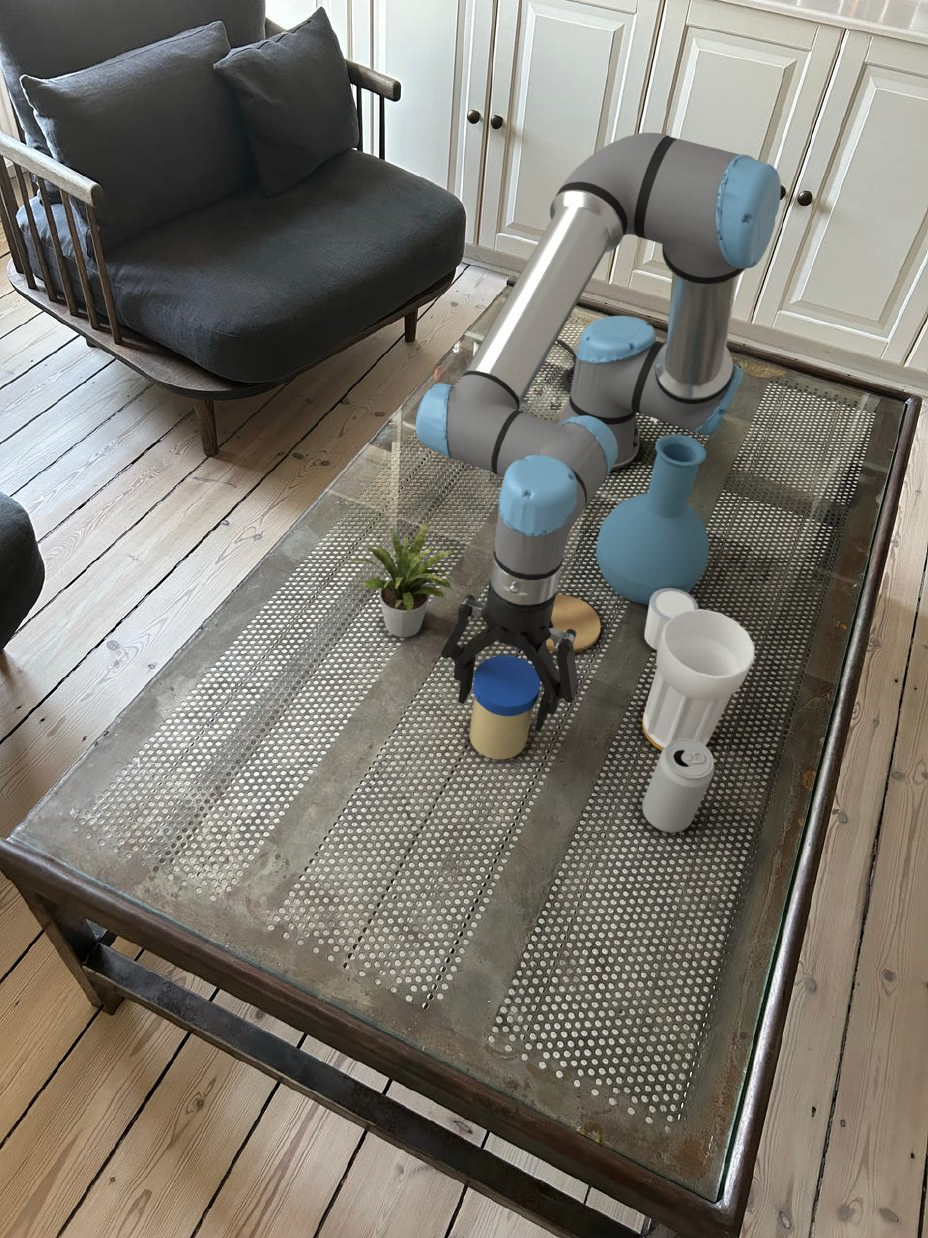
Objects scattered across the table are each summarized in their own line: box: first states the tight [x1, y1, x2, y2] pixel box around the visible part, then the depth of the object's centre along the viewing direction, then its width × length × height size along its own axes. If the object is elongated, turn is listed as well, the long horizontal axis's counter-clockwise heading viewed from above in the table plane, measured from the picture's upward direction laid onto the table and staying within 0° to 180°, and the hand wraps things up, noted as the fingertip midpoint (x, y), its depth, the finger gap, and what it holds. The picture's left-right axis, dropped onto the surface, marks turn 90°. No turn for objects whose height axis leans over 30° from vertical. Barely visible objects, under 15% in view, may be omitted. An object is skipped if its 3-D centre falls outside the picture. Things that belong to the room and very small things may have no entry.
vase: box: [595, 433, 710, 606], centre depth 142 cm, size 16×16×25 cm
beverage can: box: [641, 738, 715, 833], centre depth 118 cm, size 6×6×12 cm
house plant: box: [345, 520, 459, 638], centre depth 134 cm, size 14×14×16 cm
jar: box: [468, 695, 535, 760], centre depth 125 cm, size 8×8×11 cm
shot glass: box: [644, 588, 699, 651], centre depth 140 cm, size 7×7×7 cm
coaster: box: [546, 594, 602, 654], centre depth 143 cm, size 11×11×1 cm
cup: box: [641, 608, 756, 752], centre depth 125 cm, size 11×11×17 cm
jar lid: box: [472, 654, 541, 716], centre depth 121 cm, size 8×8×2 cm
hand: (502, 709), depth 125 cm, fingers open, 10 cm apart
